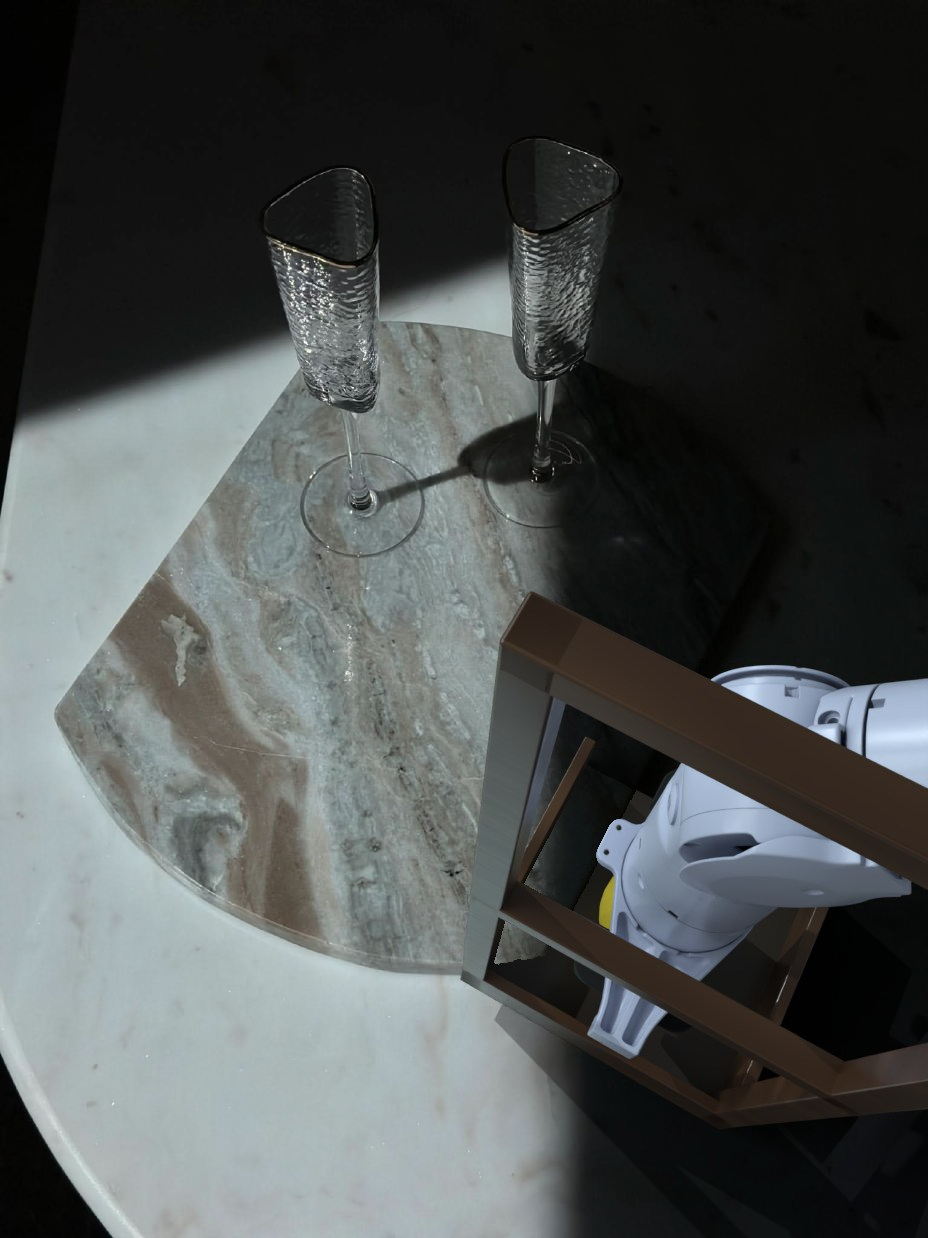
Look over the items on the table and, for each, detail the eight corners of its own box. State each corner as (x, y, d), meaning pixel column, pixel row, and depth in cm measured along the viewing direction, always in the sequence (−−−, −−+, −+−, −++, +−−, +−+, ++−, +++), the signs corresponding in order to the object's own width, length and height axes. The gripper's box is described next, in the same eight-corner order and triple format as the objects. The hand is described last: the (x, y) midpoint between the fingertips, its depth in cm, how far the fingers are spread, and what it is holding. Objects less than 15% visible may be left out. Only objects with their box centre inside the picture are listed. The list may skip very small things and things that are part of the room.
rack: (577, 760, 63) (788, 152, 25) (820, 887, 60) (1475, 426, 22) (459, 979, 58) (497, 641, 20) (719, 1129, 55) (1338, 1072, 17)
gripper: (695, 656, 47) (642, 759, 60) (532, 976, 42) (511, 1016, 54) (856, 736, 46) (768, 825, 58) (709, 1077, 41) (647, 1095, 53)
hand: (653, 922), depth 56 cm, fingers closed on lemon, 5 cm apart
